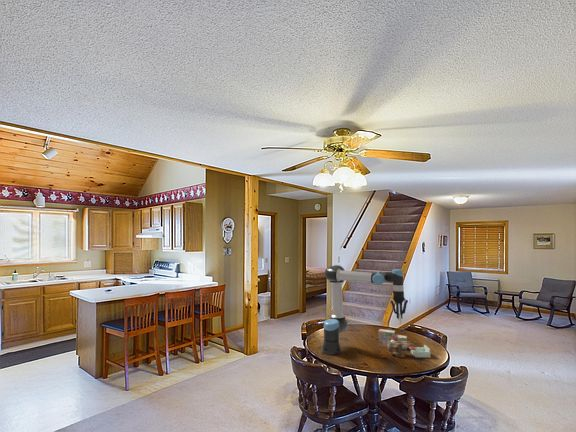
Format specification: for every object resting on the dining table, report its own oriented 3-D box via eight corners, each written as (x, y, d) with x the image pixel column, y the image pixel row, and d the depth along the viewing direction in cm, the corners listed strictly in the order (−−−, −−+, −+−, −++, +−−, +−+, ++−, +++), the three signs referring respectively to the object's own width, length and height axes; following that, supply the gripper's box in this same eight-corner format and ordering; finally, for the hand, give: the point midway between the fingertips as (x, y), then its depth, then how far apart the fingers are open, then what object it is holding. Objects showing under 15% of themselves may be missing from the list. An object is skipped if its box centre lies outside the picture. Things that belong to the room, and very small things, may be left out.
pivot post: (396, 356, 247) (396, 345, 247) (393, 352, 255) (393, 341, 255) (404, 356, 246) (404, 345, 247) (401, 352, 255) (401, 341, 255)
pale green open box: (415, 357, 245) (415, 349, 246) (410, 352, 255) (410, 344, 256) (430, 357, 245) (430, 349, 245) (425, 352, 255) (425, 344, 255)
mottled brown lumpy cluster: (391, 354, 243) (391, 345, 243) (387, 349, 254) (387, 340, 254) (416, 355, 242) (416, 345, 242) (411, 349, 253) (410, 340, 254)
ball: (391, 345, 249) (391, 340, 250) (389, 343, 253) (389, 339, 253) (395, 345, 249) (395, 340, 250) (394, 343, 253) (394, 339, 253)
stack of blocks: (407, 347, 266) (407, 332, 267) (406, 350, 261) (405, 334, 261) (379, 343, 276) (379, 328, 277) (378, 346, 270) (378, 330, 271)
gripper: (390, 291, 243) (392, 324, 241) (409, 291, 242) (410, 324, 241) (388, 289, 250) (389, 322, 249) (405, 289, 250) (407, 321, 248)
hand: (399, 323), depth 245 cm, fingers closed
